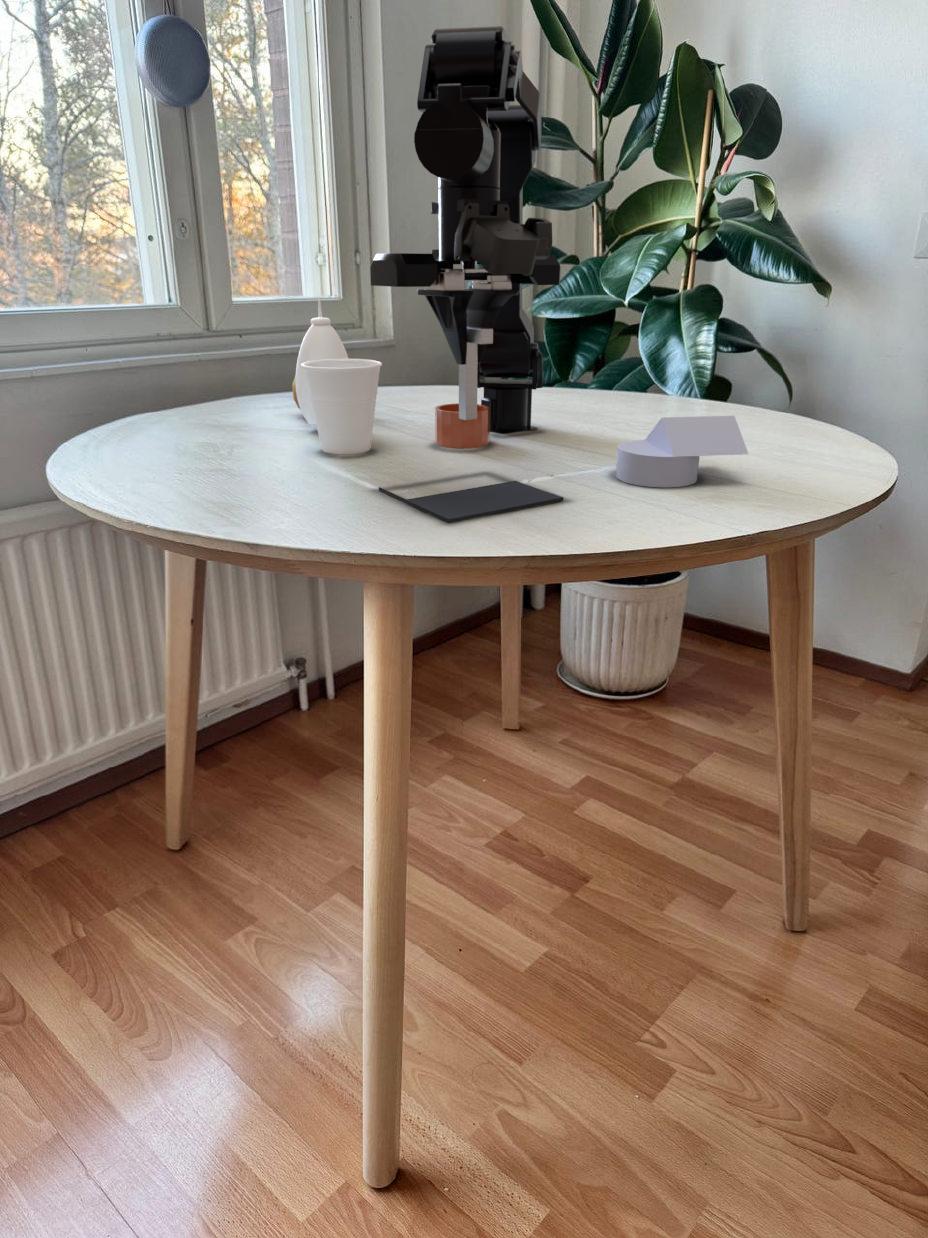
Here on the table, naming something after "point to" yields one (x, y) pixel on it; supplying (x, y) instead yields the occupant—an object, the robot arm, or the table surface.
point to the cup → (343, 402)
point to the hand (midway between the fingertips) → (468, 363)
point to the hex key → (471, 371)
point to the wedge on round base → (677, 450)
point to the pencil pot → (461, 427)
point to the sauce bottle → (316, 357)
